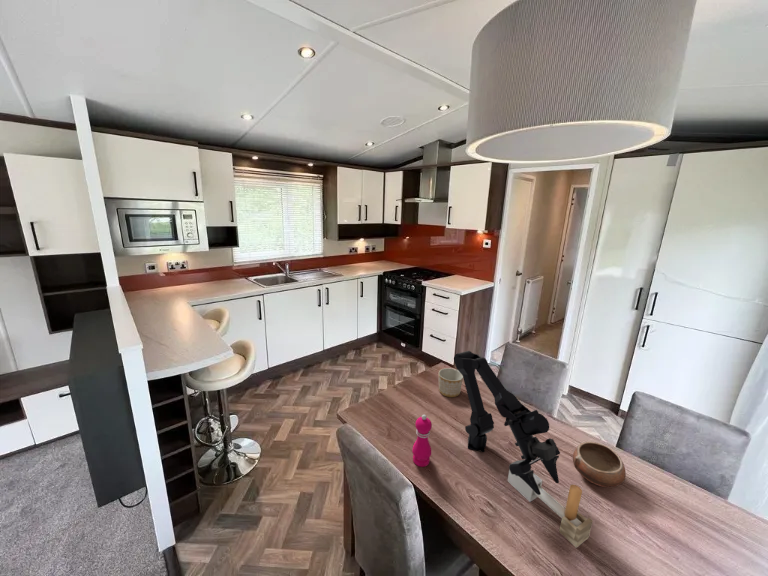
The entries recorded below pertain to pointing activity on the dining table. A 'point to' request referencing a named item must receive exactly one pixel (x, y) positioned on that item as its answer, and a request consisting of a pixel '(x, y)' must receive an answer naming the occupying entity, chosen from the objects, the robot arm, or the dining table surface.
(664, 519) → the dining table surface
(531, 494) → the outer sleeve
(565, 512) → the multicoloured piece
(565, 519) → the end socket
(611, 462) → the bowl
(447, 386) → the planter
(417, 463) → the pepper mill
